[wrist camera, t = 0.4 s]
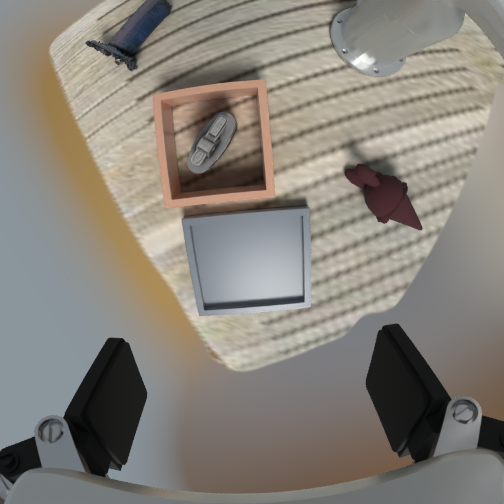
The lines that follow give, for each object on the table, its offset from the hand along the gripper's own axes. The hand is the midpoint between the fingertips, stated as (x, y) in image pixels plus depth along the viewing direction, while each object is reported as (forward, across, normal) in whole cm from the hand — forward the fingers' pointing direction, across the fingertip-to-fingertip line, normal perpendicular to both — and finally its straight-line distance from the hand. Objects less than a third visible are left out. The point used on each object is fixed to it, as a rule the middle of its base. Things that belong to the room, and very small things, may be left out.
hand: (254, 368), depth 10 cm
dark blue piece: (+33, +15, -28) cm, 46 cm away
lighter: (+33, +4, -9) cm, 35 cm away
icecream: (+33, -20, 0) cm, 39 cm away
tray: (+33, 0, +9) cm, 34 cm away
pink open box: (+33, +4, -9) cm, 34 cm away
